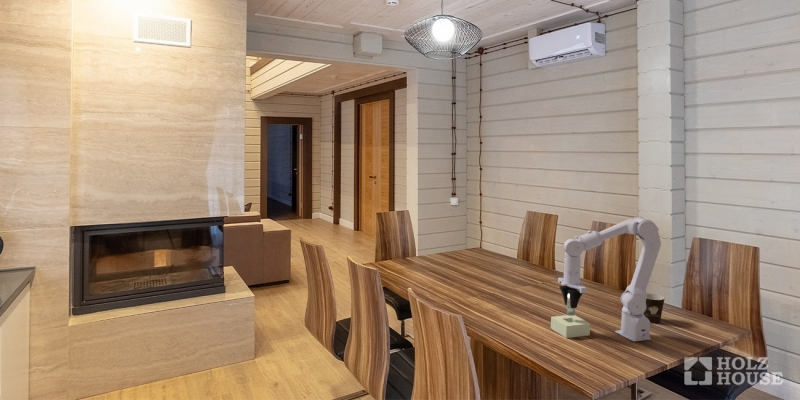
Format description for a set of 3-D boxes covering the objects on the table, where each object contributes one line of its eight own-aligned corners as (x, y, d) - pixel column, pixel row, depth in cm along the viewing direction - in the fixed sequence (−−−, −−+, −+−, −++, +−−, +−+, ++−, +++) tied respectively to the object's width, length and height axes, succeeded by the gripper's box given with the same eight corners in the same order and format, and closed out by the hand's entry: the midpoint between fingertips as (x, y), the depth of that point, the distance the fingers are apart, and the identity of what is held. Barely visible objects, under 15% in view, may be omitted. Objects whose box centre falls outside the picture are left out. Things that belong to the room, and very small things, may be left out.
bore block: (589, 335, 171) (590, 323, 171) (566, 338, 169) (566, 326, 168) (573, 325, 181) (573, 314, 180) (550, 328, 178) (551, 316, 178)
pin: (576, 315, 173) (577, 294, 172) (570, 316, 172) (570, 295, 171) (571, 312, 176) (572, 292, 175) (564, 313, 175) (565, 292, 174)
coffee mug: (665, 320, 186) (667, 296, 185) (659, 326, 180) (661, 301, 179) (634, 313, 194) (636, 290, 193) (628, 318, 188) (629, 295, 187)
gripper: (551, 267, 178) (550, 301, 180) (574, 276, 164) (573, 313, 166) (567, 266, 180) (566, 299, 182) (591, 275, 166) (590, 311, 168)
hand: (570, 306), depth 174 cm, fingers closed on pin, 3 cm apart
